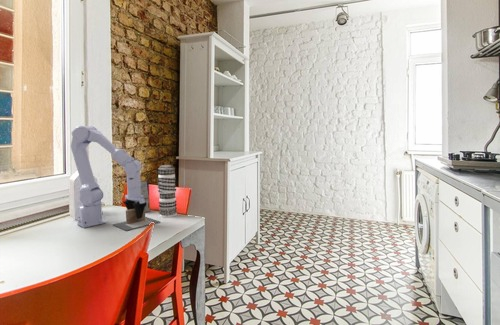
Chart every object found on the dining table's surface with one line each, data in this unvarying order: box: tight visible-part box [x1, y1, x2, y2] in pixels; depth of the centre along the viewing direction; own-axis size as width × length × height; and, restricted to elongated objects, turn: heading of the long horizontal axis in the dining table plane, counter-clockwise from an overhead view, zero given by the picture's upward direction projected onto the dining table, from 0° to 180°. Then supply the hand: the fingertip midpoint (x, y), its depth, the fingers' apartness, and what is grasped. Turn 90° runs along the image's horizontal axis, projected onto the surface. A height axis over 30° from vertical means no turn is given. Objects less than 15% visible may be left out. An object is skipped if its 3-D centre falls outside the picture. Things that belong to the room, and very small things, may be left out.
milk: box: [68, 170, 99, 221], centre depth 147 cm, size 12×12×26 cm
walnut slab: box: [125, 208, 146, 224], centre depth 134 cm, size 8×2×6 cm, turn 138°
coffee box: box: [136, 179, 151, 213], centre depth 155 cm, size 9×6×16 cm
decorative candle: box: [156, 164, 178, 218], centre depth 145 cm, size 9×9×25 cm
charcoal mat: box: [112, 216, 161, 232], centre depth 132 cm, size 16×13×1 cm
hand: (135, 216), depth 134 cm, fingers open, 7 cm apart
